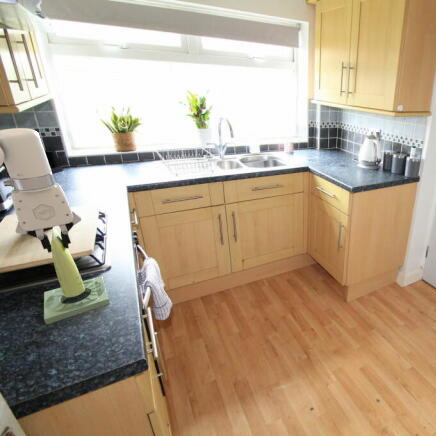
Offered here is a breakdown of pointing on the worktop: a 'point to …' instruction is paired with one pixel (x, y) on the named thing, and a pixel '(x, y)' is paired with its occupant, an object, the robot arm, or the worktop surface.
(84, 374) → the worktop surface
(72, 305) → the base pad
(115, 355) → the worktop surface
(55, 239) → the yellow-green tapered cone
